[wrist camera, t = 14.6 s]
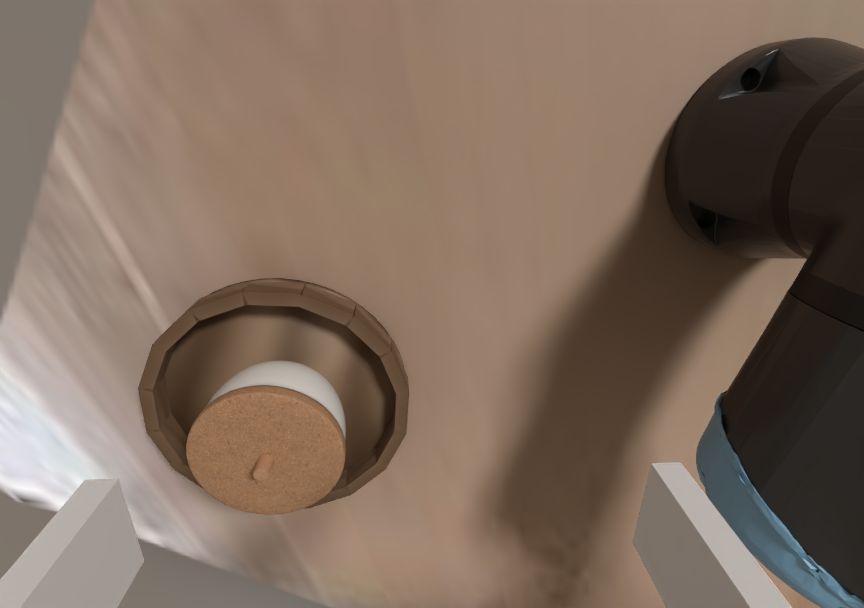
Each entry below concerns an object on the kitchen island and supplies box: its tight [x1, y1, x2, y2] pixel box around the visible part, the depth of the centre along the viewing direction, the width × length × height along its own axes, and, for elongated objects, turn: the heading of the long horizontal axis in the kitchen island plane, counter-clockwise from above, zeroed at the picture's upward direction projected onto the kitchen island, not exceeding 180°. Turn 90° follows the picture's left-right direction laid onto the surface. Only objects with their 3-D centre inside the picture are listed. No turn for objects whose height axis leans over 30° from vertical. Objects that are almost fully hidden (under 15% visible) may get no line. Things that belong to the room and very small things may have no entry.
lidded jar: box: [186, 360, 346, 514], centre depth 36 cm, size 11×11×9 cm
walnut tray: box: [138, 278, 409, 508], centre depth 39 cm, size 21×21×3 cm
